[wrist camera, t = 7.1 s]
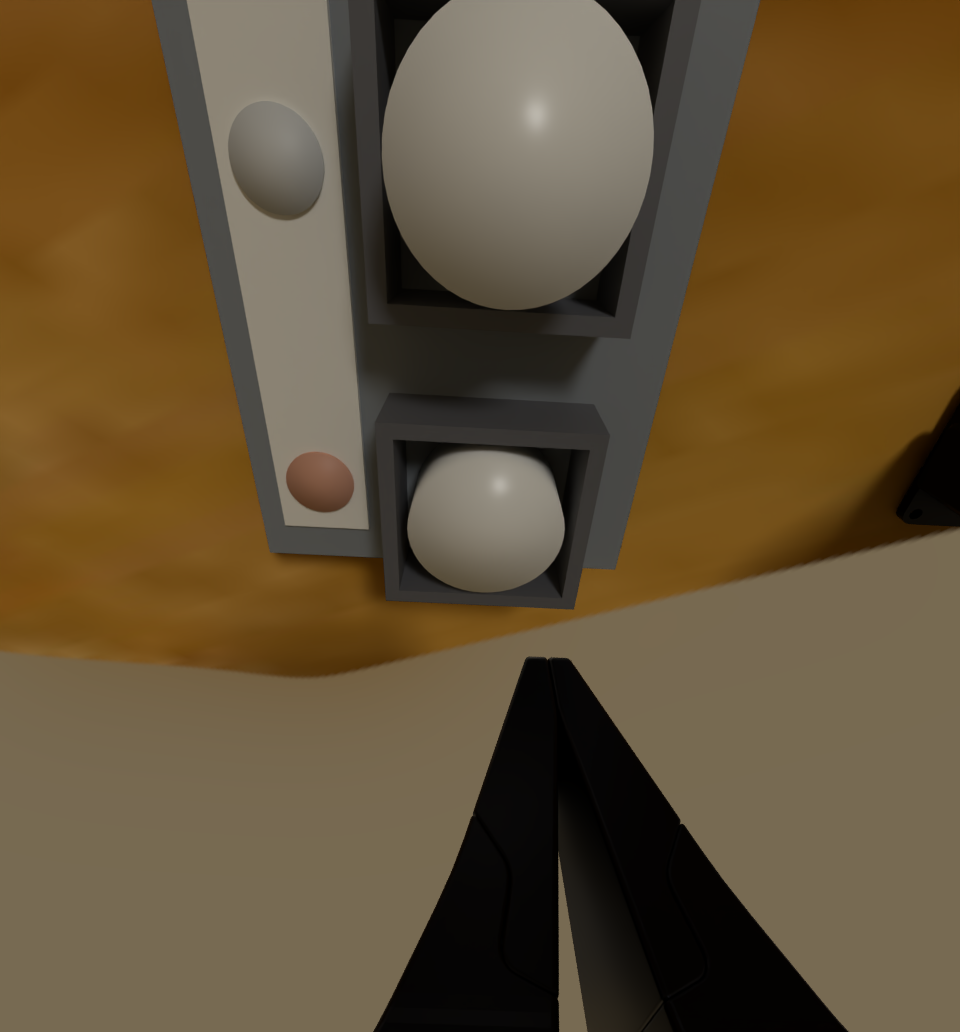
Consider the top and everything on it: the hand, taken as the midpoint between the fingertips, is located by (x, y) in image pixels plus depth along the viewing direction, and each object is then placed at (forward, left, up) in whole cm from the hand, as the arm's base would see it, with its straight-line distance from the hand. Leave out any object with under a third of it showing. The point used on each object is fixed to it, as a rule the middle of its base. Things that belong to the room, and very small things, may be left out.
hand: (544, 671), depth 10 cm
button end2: (+1, +1, -9) cm, 9 cm away
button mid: (+1, -8, -7) cm, 11 cm away
